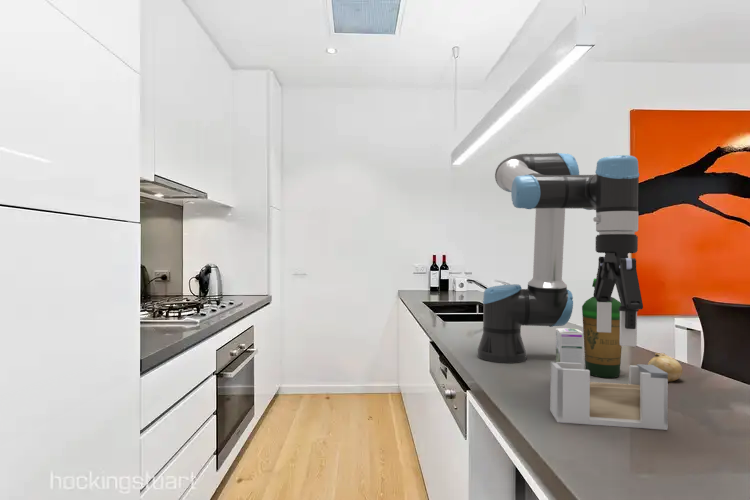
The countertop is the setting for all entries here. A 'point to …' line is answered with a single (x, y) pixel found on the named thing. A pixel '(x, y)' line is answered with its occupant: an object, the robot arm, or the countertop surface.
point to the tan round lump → (667, 366)
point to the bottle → (601, 341)
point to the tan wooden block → (615, 400)
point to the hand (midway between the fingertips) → (615, 338)
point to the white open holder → (575, 396)
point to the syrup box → (569, 345)
